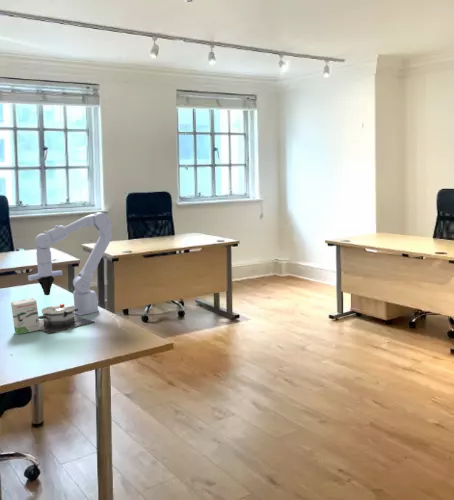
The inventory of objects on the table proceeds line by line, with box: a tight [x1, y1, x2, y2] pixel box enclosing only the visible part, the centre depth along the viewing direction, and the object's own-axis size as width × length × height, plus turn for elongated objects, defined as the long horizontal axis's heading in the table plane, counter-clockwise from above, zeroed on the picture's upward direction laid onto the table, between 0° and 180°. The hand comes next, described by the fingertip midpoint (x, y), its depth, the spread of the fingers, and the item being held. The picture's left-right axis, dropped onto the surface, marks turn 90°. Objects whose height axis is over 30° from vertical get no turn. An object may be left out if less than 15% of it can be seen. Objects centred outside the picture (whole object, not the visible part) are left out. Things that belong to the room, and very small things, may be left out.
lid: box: [41, 303, 75, 315], centre depth 230 cm, size 13×16×2 cm
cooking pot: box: [38, 308, 95, 335], centre depth 232 cm, size 20×20×5 cm
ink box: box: [10, 297, 40, 335], centre depth 221 cm, size 9×5×12 cm, turn 123°
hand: (47, 294), depth 242 cm, fingers closed
